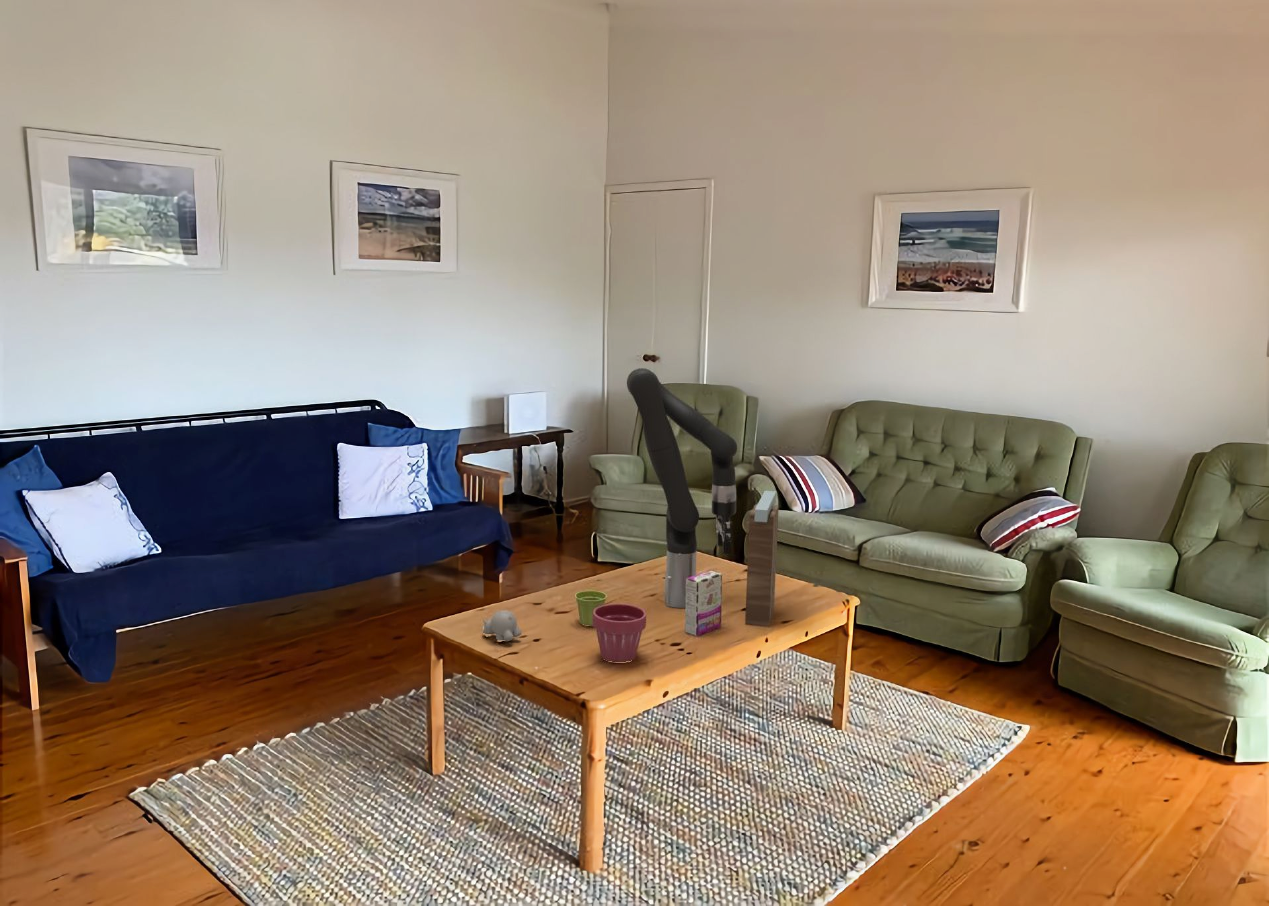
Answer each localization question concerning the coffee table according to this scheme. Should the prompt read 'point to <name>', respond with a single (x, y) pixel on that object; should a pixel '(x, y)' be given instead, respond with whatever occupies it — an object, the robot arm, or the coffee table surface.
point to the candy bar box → (703, 603)
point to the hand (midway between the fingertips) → (723, 549)
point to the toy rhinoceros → (502, 626)
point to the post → (761, 569)
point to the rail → (765, 506)
